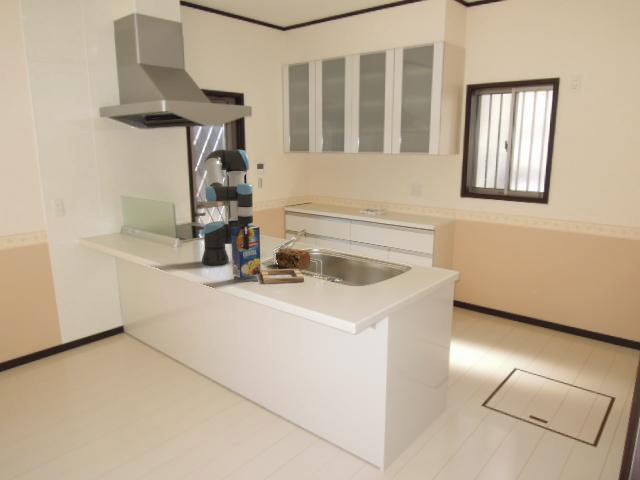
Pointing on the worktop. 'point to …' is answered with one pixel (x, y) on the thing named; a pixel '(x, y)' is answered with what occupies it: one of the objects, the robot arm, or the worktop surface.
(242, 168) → the robot arm
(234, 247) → the juice carton
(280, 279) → the board
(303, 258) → the bread
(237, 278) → the plate
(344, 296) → the worktop surface
